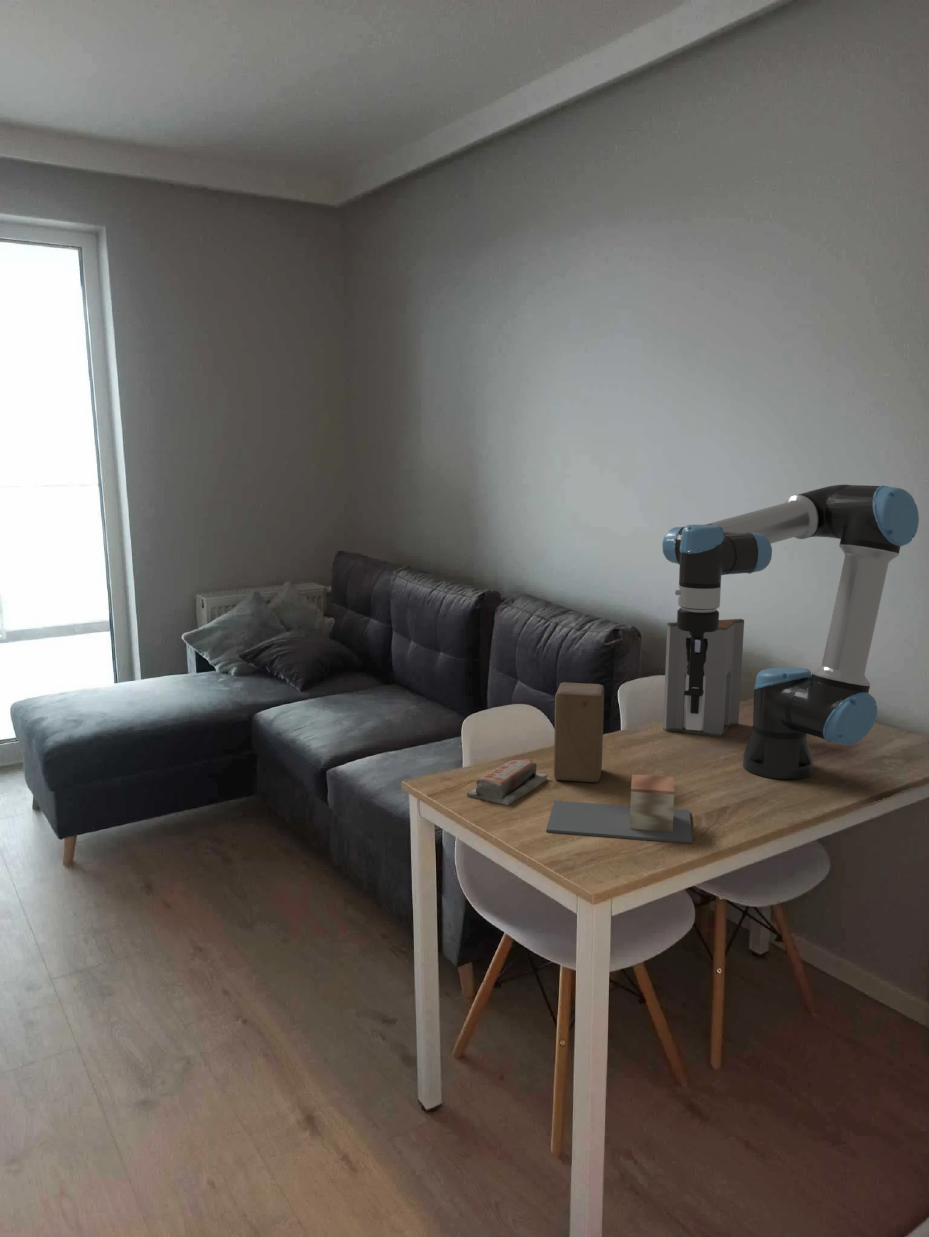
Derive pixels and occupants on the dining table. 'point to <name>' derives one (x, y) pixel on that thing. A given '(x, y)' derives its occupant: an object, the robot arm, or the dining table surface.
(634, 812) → the cube
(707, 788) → the dining table surface
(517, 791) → the packaged product
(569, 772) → the wooden block
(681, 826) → the rubber mat
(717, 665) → the cabinet
